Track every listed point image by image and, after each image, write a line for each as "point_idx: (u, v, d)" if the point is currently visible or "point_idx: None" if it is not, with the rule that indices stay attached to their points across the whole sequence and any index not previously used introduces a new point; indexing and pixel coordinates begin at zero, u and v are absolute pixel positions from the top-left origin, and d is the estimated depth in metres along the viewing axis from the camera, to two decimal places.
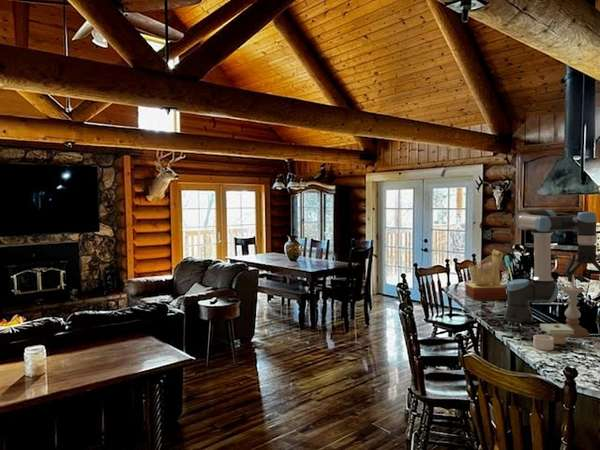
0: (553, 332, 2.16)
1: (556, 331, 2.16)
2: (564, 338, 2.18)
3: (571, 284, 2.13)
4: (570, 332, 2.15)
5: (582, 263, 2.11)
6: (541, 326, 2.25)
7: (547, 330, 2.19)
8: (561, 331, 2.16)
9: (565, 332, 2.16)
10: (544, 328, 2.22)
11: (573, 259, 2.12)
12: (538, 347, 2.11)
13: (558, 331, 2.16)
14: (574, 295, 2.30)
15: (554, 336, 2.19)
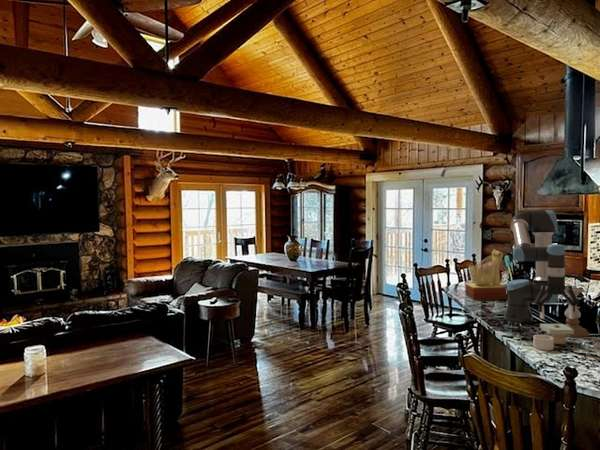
0: (553, 332, 2.16)
1: (556, 331, 2.16)
2: (564, 338, 2.18)
3: (541, 314, 2.21)
4: (570, 332, 2.15)
5: (551, 294, 2.19)
6: (541, 326, 2.25)
7: (547, 330, 2.19)
8: (561, 331, 2.16)
9: (565, 332, 2.16)
10: (544, 328, 2.22)
11: (543, 290, 2.20)
12: (538, 347, 2.11)
13: (558, 331, 2.16)
14: None
15: (554, 336, 2.19)
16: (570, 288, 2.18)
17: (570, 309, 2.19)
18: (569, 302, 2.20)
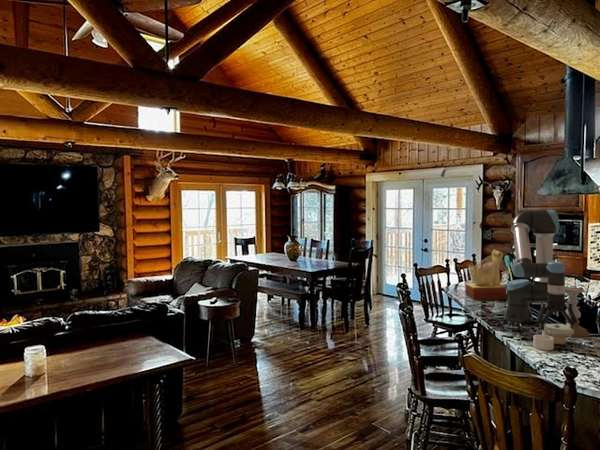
0: (553, 332, 2.16)
1: (556, 331, 2.16)
2: (564, 338, 2.18)
3: (543, 332, 2.22)
4: (570, 332, 2.15)
5: (552, 312, 2.19)
6: None
7: (547, 330, 2.19)
8: (561, 331, 2.16)
9: (565, 332, 2.16)
10: None
11: (543, 308, 2.20)
12: (538, 347, 2.11)
13: (558, 331, 2.16)
14: (574, 295, 2.30)
15: (554, 336, 2.19)
16: (570, 306, 2.19)
17: None
18: (567, 320, 2.21)
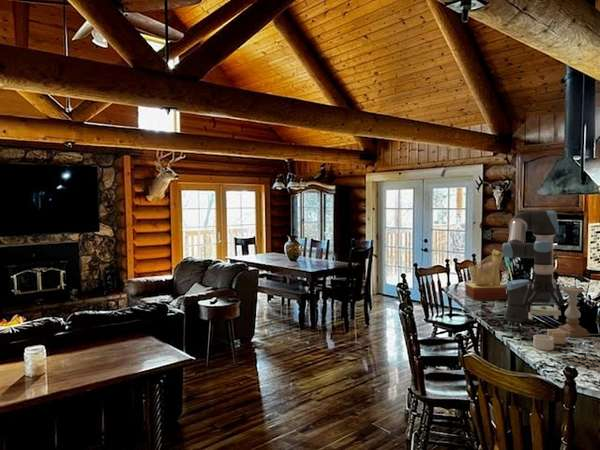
0: (540, 313, 2.08)
1: (543, 312, 2.07)
2: (564, 338, 2.18)
3: (530, 314, 2.13)
4: (557, 313, 2.07)
5: (539, 292, 2.11)
6: None
7: (533, 312, 2.10)
8: (548, 312, 2.07)
9: (552, 313, 2.07)
10: None
11: (530, 289, 2.12)
12: (538, 347, 2.11)
13: (545, 312, 2.07)
14: (574, 295, 2.30)
15: (554, 336, 2.19)
16: (557, 287, 2.10)
17: None
18: (554, 301, 2.12)
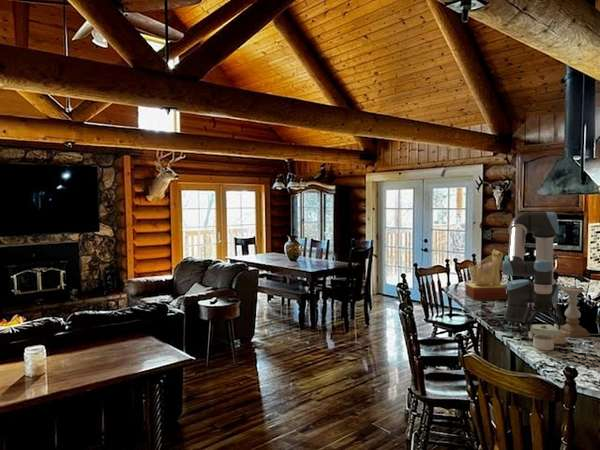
0: (540, 333, 2.08)
1: (543, 332, 2.08)
2: (564, 338, 2.18)
3: (530, 333, 2.13)
4: (557, 333, 2.07)
5: (539, 312, 2.11)
6: None
7: (534, 331, 2.11)
8: (548, 332, 2.08)
9: (552, 333, 2.07)
10: None
11: (530, 308, 2.12)
12: (538, 347, 2.11)
13: (545, 332, 2.08)
14: (574, 295, 2.30)
15: None
16: (557, 306, 2.11)
17: None
18: (555, 321, 2.13)
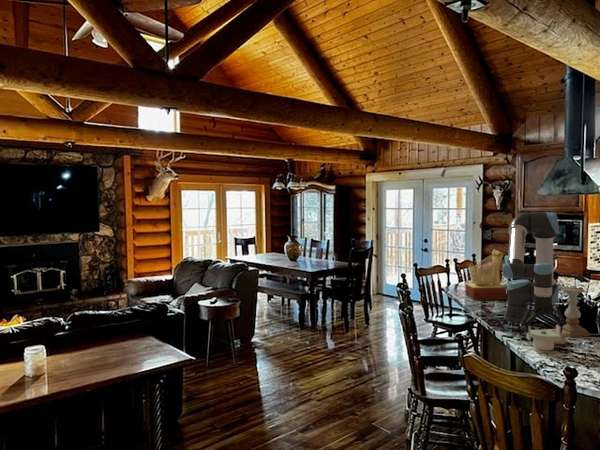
0: (540, 339, 2.08)
1: (543, 338, 2.08)
2: (564, 338, 2.18)
3: (528, 335, 2.14)
4: (557, 339, 2.07)
5: (538, 314, 2.11)
6: None
7: (534, 337, 2.11)
8: (548, 338, 2.08)
9: (552, 339, 2.08)
10: (531, 334, 2.14)
11: (529, 310, 2.12)
12: (538, 347, 2.11)
13: (545, 338, 2.08)
14: (574, 295, 2.30)
15: None
16: (557, 308, 2.11)
17: (557, 330, 2.12)
18: (556, 322, 2.13)
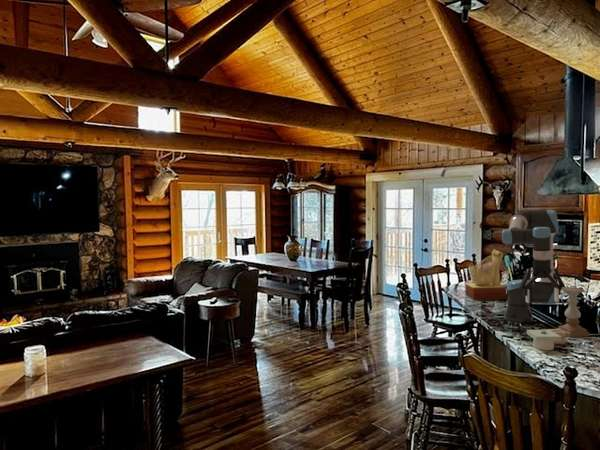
0: (540, 339, 2.08)
1: (543, 338, 2.08)
2: (564, 338, 2.18)
3: (527, 298, 2.17)
4: (557, 339, 2.07)
5: (537, 277, 2.15)
6: (528, 332, 2.17)
7: (534, 337, 2.11)
8: (548, 338, 2.08)
9: (552, 339, 2.08)
10: (531, 334, 2.14)
11: (528, 274, 2.16)
12: (538, 347, 2.11)
13: (545, 338, 2.08)
14: (574, 295, 2.30)
15: None
16: (556, 271, 2.14)
17: (556, 292, 2.16)
18: (555, 285, 2.16)
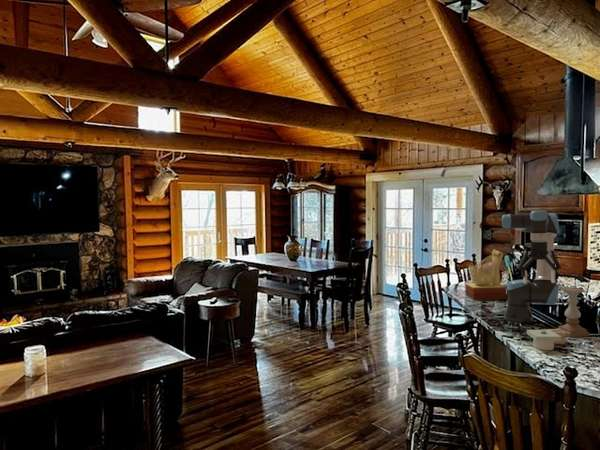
0: (540, 339, 2.08)
1: (543, 338, 2.08)
2: (564, 338, 2.18)
3: (524, 279, 2.26)
4: (557, 339, 2.07)
5: (534, 259, 2.24)
6: (528, 332, 2.17)
7: (534, 337, 2.11)
8: (548, 338, 2.08)
9: (552, 339, 2.08)
10: (531, 334, 2.14)
11: (526, 255, 2.25)
12: (538, 347, 2.11)
13: (545, 338, 2.08)
14: (574, 295, 2.30)
15: None
16: (552, 253, 2.23)
17: (552, 273, 2.24)
18: (551, 267, 2.25)
